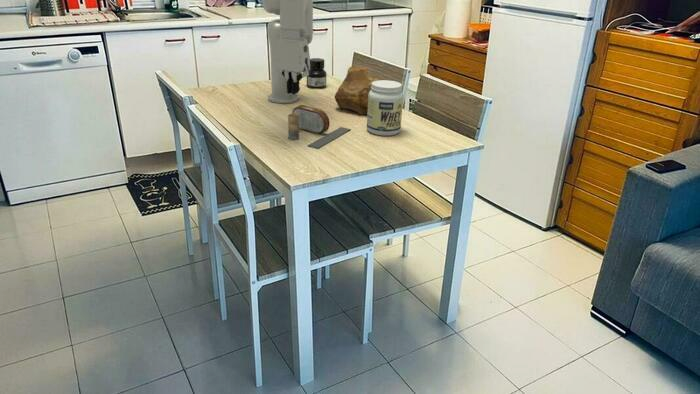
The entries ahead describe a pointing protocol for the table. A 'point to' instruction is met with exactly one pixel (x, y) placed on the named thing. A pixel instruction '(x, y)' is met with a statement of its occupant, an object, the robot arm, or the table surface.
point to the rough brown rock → (355, 90)
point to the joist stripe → (329, 138)
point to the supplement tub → (385, 108)
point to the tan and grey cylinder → (293, 126)
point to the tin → (312, 119)
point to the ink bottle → (316, 74)
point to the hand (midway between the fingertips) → (293, 92)
